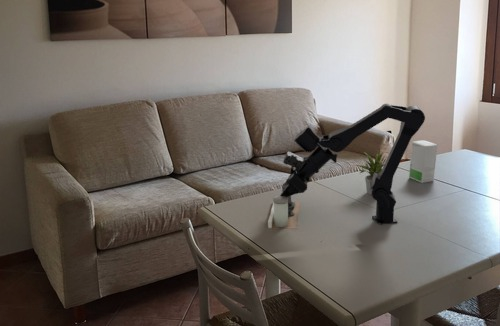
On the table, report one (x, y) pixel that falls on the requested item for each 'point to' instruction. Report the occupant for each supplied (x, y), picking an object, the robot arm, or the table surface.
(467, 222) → the table surface
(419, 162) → the skincare box
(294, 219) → the shelf board
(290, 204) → the grey chess piece
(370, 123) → the robot arm
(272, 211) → the rail
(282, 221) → the sage ceramic jar
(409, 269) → the table surface
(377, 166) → the house plant
